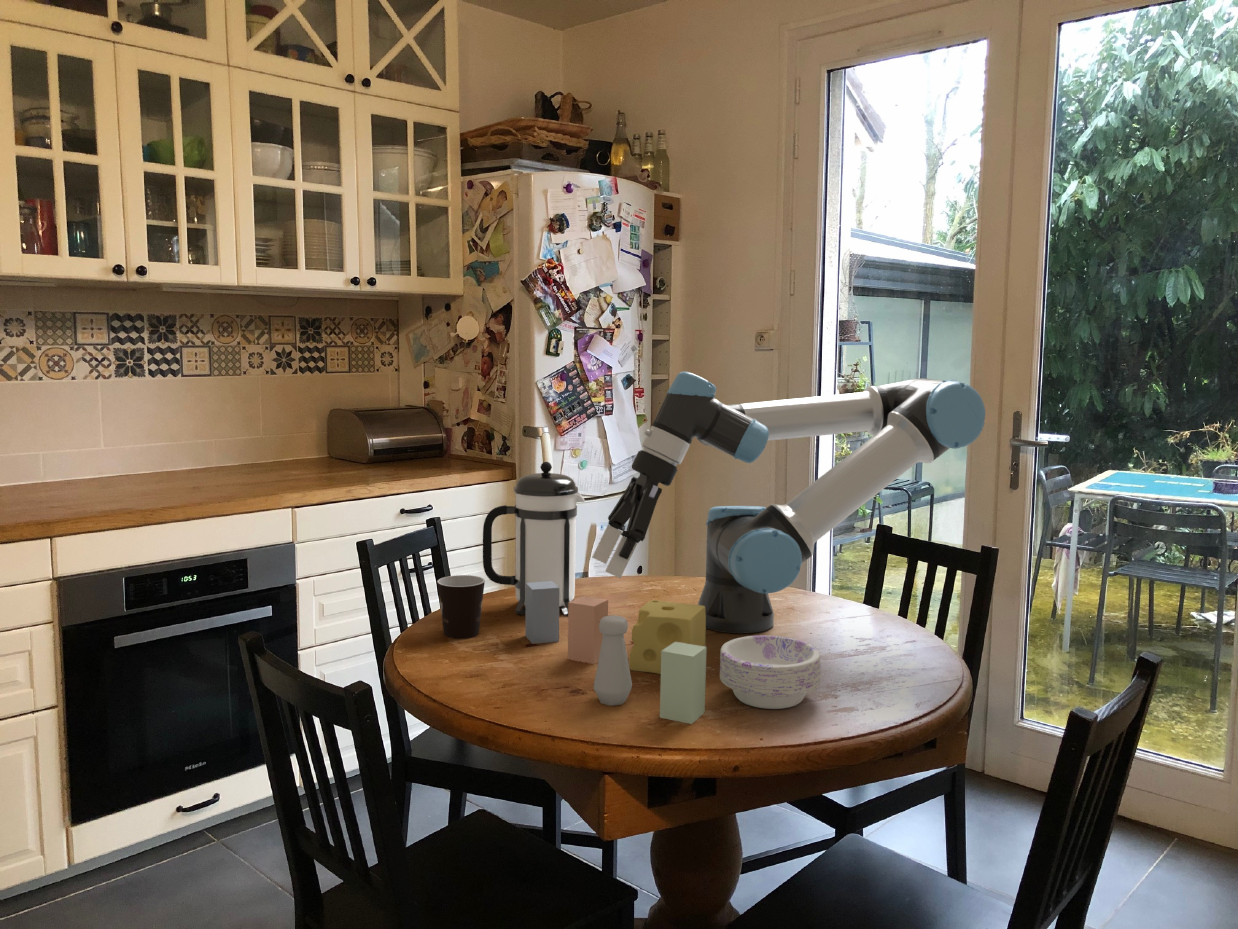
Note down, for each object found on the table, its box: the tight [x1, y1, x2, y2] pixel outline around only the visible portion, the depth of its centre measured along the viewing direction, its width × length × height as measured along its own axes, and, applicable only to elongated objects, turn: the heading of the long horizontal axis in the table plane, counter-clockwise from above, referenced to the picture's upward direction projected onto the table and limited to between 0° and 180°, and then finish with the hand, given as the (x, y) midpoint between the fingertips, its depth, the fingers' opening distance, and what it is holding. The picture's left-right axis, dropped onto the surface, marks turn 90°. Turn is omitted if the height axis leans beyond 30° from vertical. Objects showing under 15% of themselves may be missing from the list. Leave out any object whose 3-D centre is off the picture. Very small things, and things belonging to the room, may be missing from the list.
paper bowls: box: [719, 634, 822, 710], centre depth 149 cm, size 15×15×8 cm
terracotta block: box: [567, 595, 609, 665], centre depth 167 cm, size 5×5×10 cm
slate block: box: [524, 581, 560, 645], centre depth 177 cm, size 5×5×10 cm
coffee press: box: [482, 461, 586, 616], centre depth 195 cm, size 17×16×30 cm
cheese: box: [628, 599, 707, 675], centre depth 164 cm, size 10×11×10 cm
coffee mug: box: [436, 574, 486, 640], centre depth 181 cm, size 12×9×10 cm
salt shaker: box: [593, 614, 633, 706], centre depth 147 cm, size 6×6×13 cm
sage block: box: [659, 642, 707, 725], centre depth 142 cm, size 5×5×10 cm
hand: (605, 567), depth 168 cm, fingers open, 13 cm apart
